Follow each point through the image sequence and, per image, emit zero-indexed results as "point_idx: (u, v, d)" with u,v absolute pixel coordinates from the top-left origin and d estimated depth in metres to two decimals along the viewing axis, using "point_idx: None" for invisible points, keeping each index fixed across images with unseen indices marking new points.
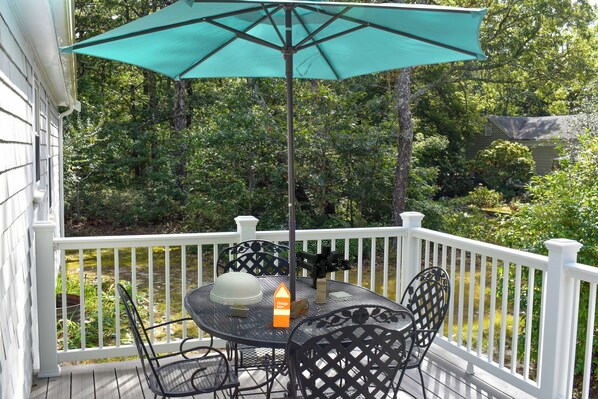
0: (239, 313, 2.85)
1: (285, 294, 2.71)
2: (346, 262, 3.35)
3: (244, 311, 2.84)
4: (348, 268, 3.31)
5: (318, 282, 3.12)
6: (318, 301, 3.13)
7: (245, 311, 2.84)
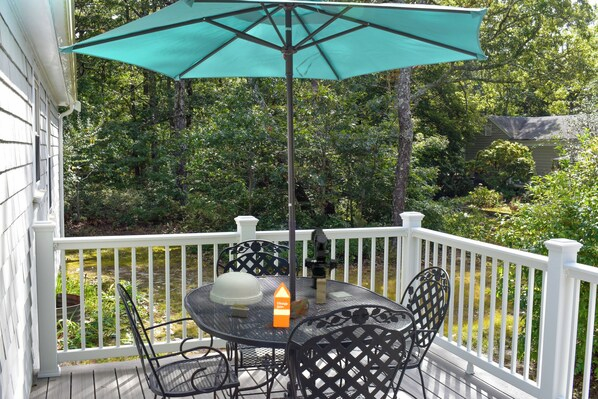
0: (239, 313, 2.85)
1: (285, 294, 2.71)
2: (331, 264, 3.25)
3: (244, 311, 2.84)
4: None
5: (318, 282, 3.12)
6: (318, 301, 3.13)
7: (245, 311, 2.84)
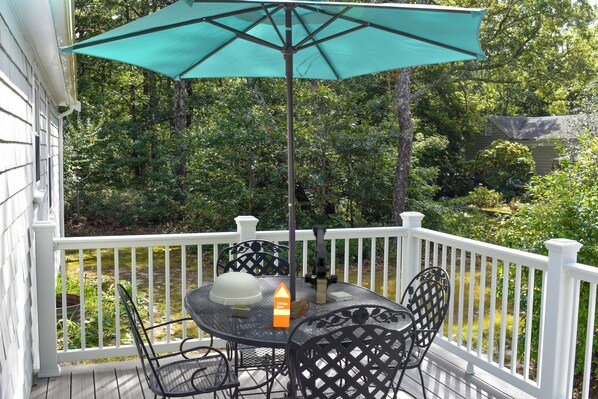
0: (240, 313, 2.85)
1: (285, 294, 2.71)
2: (328, 280, 3.16)
3: (245, 311, 2.84)
4: None
5: (318, 282, 3.12)
6: (318, 301, 3.13)
7: (246, 311, 2.84)
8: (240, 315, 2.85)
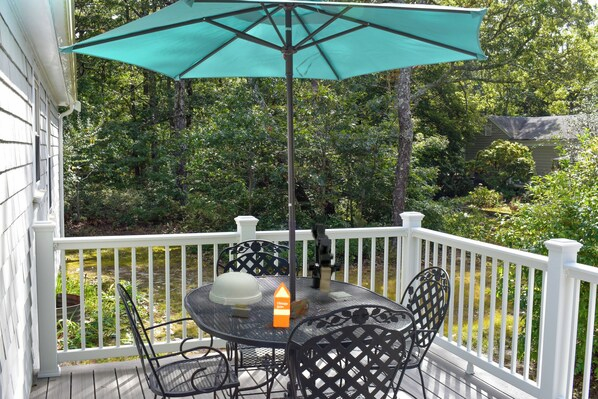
0: (241, 313, 2.85)
1: (285, 294, 2.71)
2: (332, 268, 3.17)
3: (246, 311, 2.84)
4: None
5: (323, 270, 3.12)
6: (322, 289, 3.14)
7: (247, 311, 2.84)
8: (240, 315, 2.85)
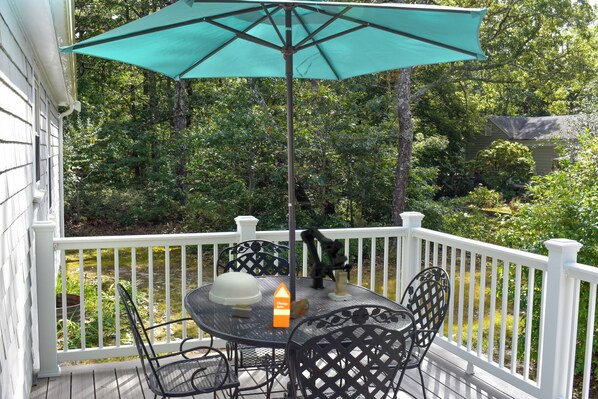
0: (242, 313, 2.85)
1: (285, 294, 2.71)
2: (349, 269, 3.28)
3: (247, 311, 2.84)
4: (347, 277, 3.27)
5: (340, 274, 3.22)
6: (340, 293, 3.23)
7: (248, 311, 2.84)
8: (241, 315, 2.85)
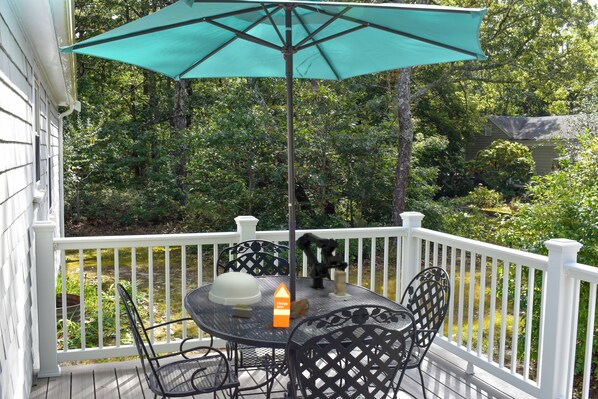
0: (242, 313, 2.85)
1: (285, 294, 2.71)
2: (344, 268, 3.33)
3: (247, 311, 2.84)
4: None
5: (339, 274, 3.22)
6: (340, 292, 3.23)
7: (248, 311, 2.84)
8: (242, 315, 2.85)
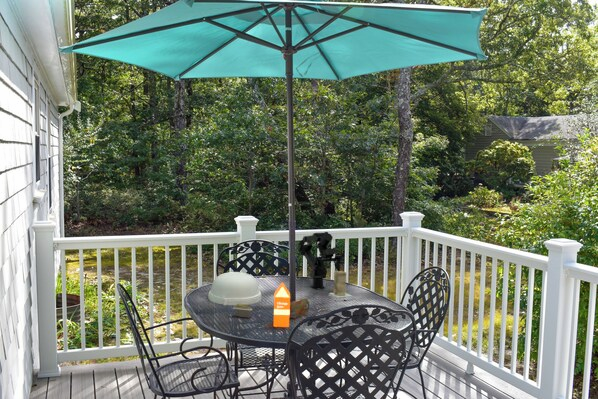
0: (242, 313, 2.85)
1: (285, 294, 2.71)
2: (339, 261, 3.36)
3: (247, 311, 2.84)
4: (337, 269, 3.35)
5: (339, 274, 3.22)
6: (339, 292, 3.23)
7: (248, 311, 2.84)
8: (242, 315, 2.85)
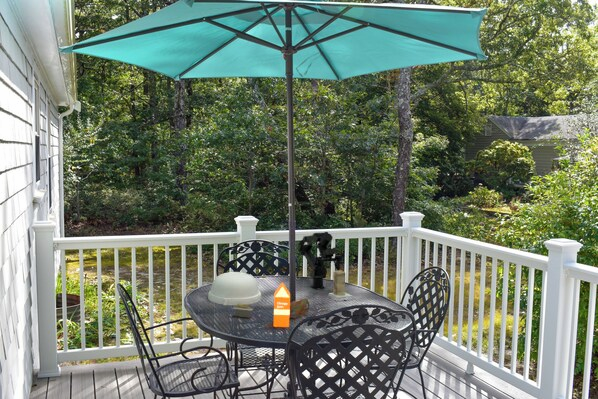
0: (243, 313, 2.85)
1: (285, 294, 2.71)
2: (339, 261, 3.36)
3: (248, 311, 2.84)
4: (337, 269, 3.35)
5: (338, 274, 3.21)
6: (339, 292, 3.23)
7: (249, 311, 2.84)
8: (242, 315, 2.85)
